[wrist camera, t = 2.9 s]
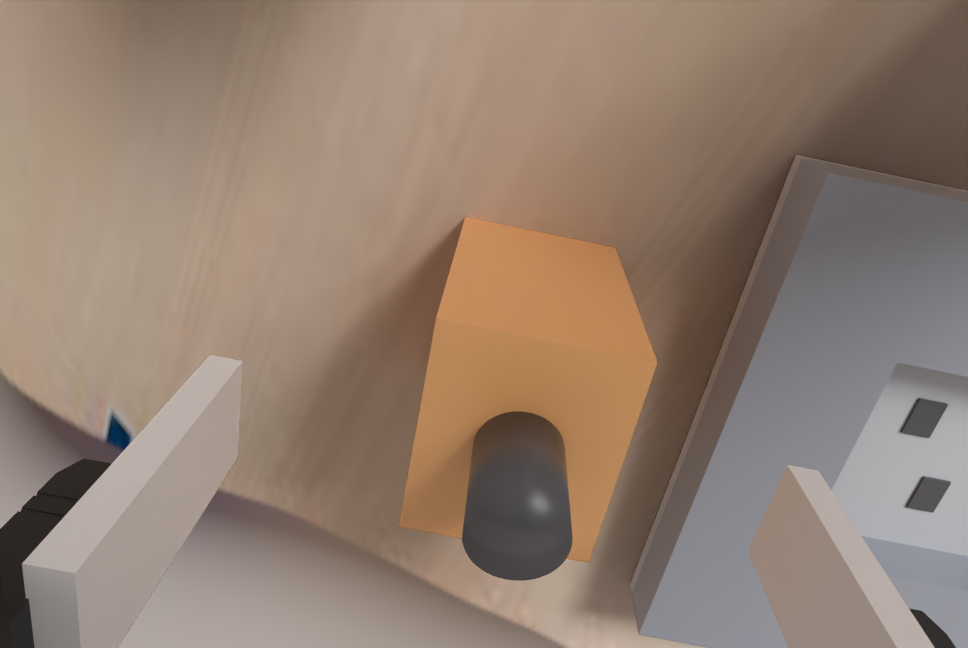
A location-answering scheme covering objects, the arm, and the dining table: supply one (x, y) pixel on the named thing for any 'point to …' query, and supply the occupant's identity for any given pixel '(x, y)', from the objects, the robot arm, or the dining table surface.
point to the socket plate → (828, 407)
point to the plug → (527, 399)
